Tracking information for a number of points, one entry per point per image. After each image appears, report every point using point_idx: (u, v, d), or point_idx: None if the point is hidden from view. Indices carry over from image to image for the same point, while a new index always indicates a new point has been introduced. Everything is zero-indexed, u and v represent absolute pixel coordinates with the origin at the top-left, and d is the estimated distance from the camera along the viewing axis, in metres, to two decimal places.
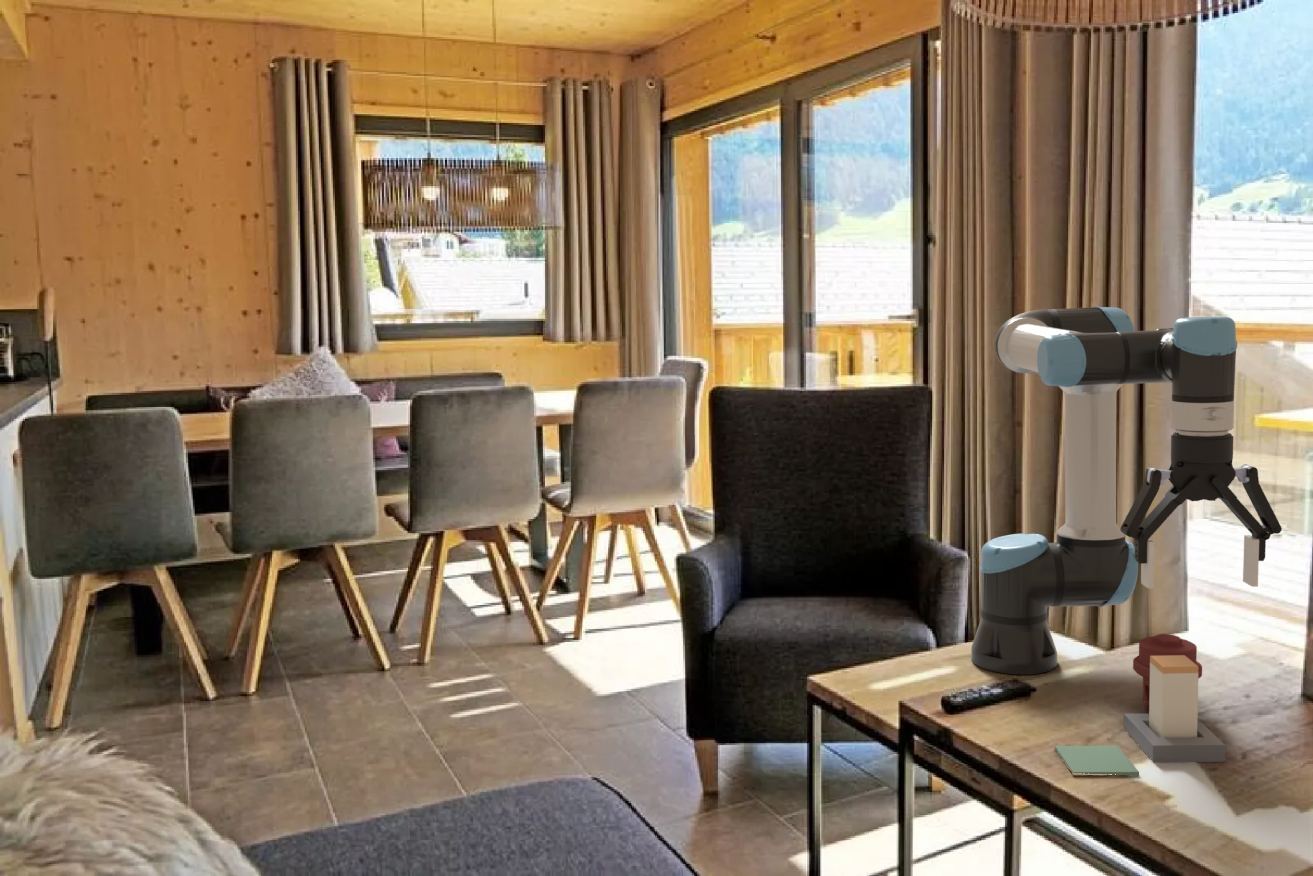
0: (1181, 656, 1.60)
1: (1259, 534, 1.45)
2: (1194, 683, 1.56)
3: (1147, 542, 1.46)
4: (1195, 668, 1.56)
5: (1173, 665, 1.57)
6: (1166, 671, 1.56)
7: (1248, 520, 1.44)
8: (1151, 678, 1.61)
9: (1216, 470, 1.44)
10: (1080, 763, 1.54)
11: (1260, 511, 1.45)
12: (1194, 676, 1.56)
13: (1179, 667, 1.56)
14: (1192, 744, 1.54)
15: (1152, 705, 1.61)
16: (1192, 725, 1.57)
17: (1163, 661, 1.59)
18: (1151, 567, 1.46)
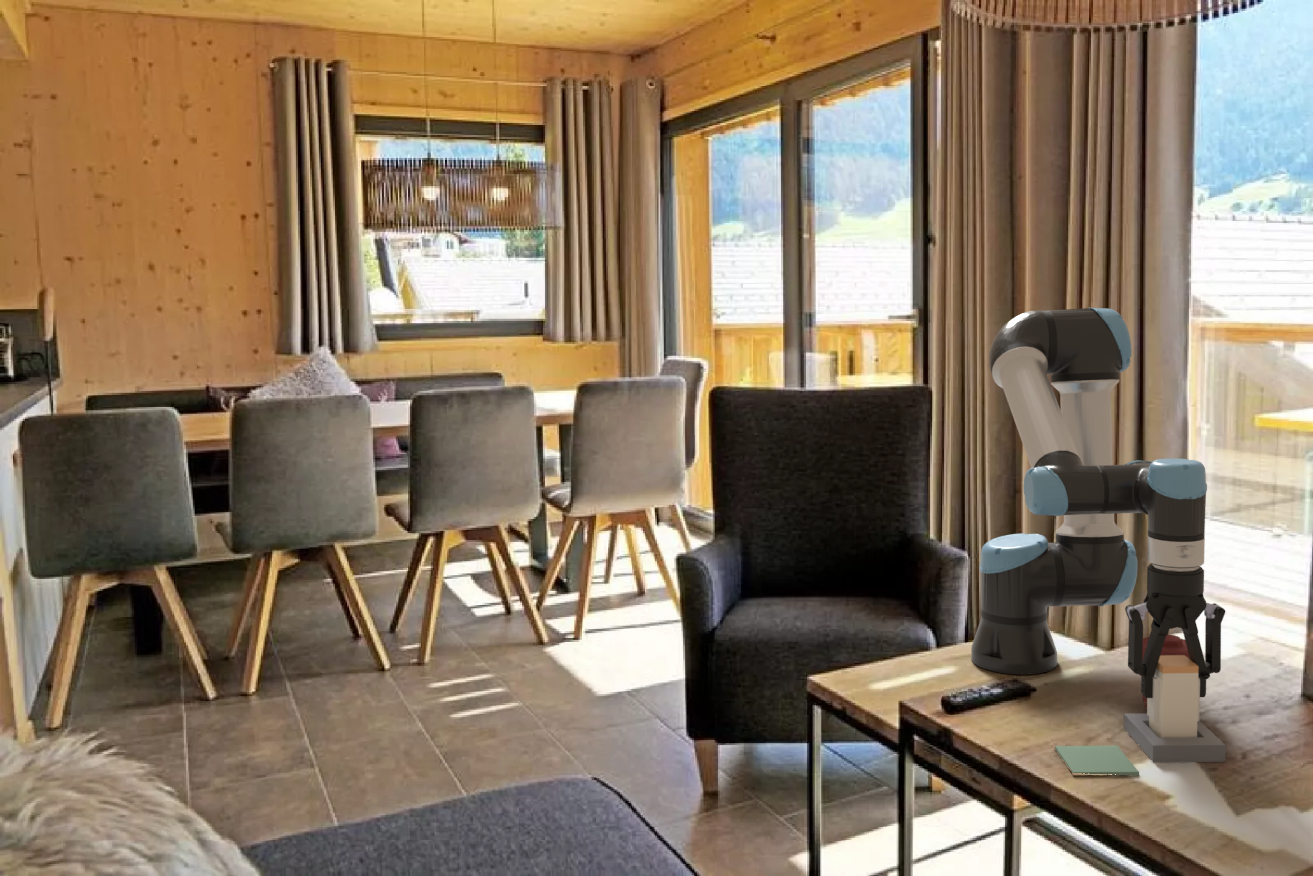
0: (1181, 656, 1.60)
1: (1200, 672, 1.57)
2: (1194, 683, 1.56)
3: (1153, 679, 1.58)
4: (1195, 668, 1.56)
5: (1173, 665, 1.57)
6: (1166, 671, 1.56)
7: (1197, 656, 1.57)
8: None
9: (1191, 597, 1.56)
10: (1080, 763, 1.54)
11: (1210, 648, 1.57)
12: (1194, 676, 1.56)
13: (1179, 667, 1.56)
14: (1192, 744, 1.54)
15: None
16: (1192, 725, 1.57)
17: (1163, 661, 1.59)
18: (1156, 702, 1.58)
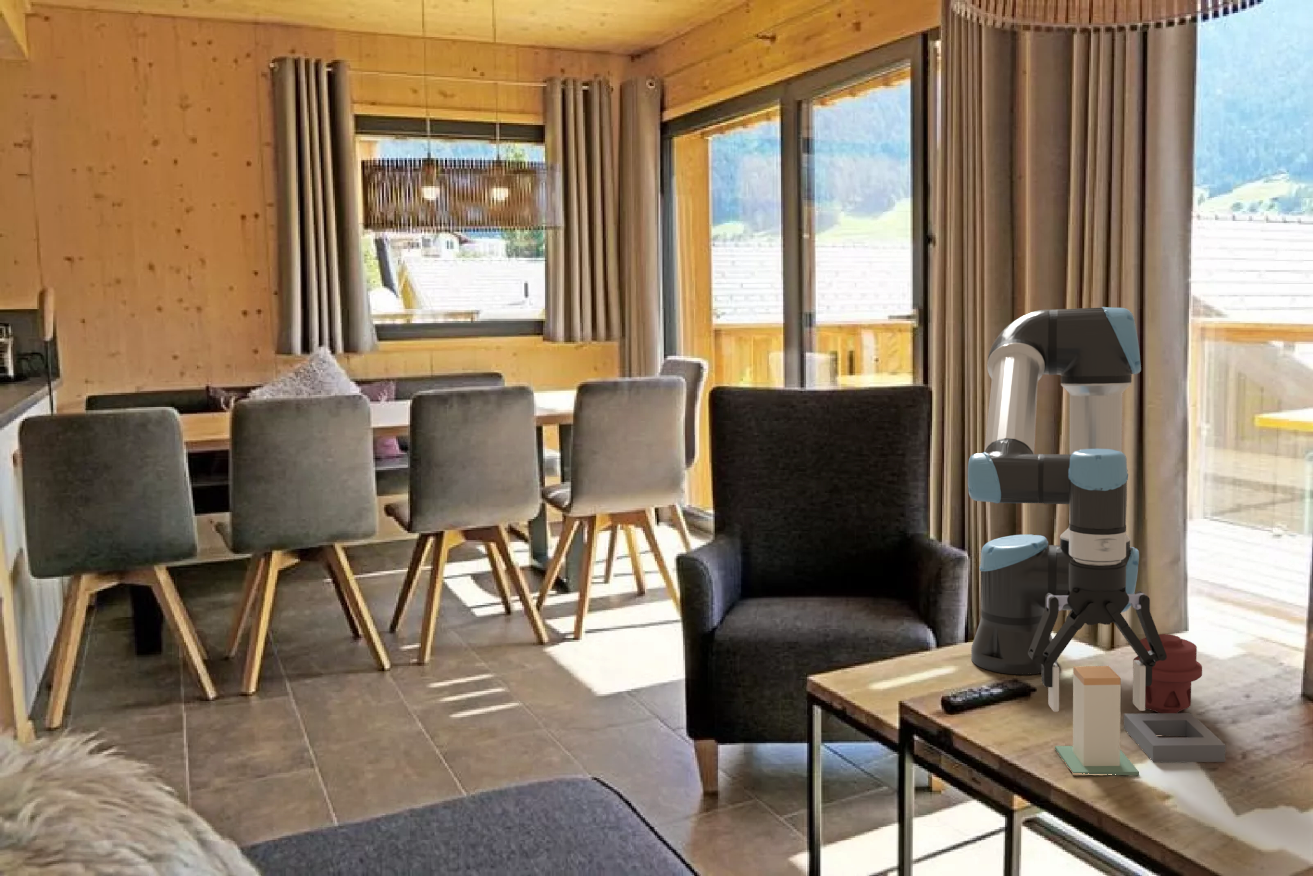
0: (1105, 667, 1.55)
1: (1145, 661, 1.52)
2: (1116, 695, 1.51)
3: (1052, 667, 1.53)
4: (1117, 679, 1.51)
5: (1095, 676, 1.52)
6: (1087, 683, 1.51)
7: (1136, 647, 1.52)
8: (1074, 689, 1.56)
9: (1111, 595, 1.51)
10: (1080, 763, 1.54)
11: (1149, 637, 1.52)
12: (1116, 688, 1.51)
13: (1101, 679, 1.51)
14: (1192, 744, 1.54)
15: (1075, 718, 1.56)
16: (1115, 738, 1.52)
17: (1086, 672, 1.54)
18: (1056, 691, 1.53)
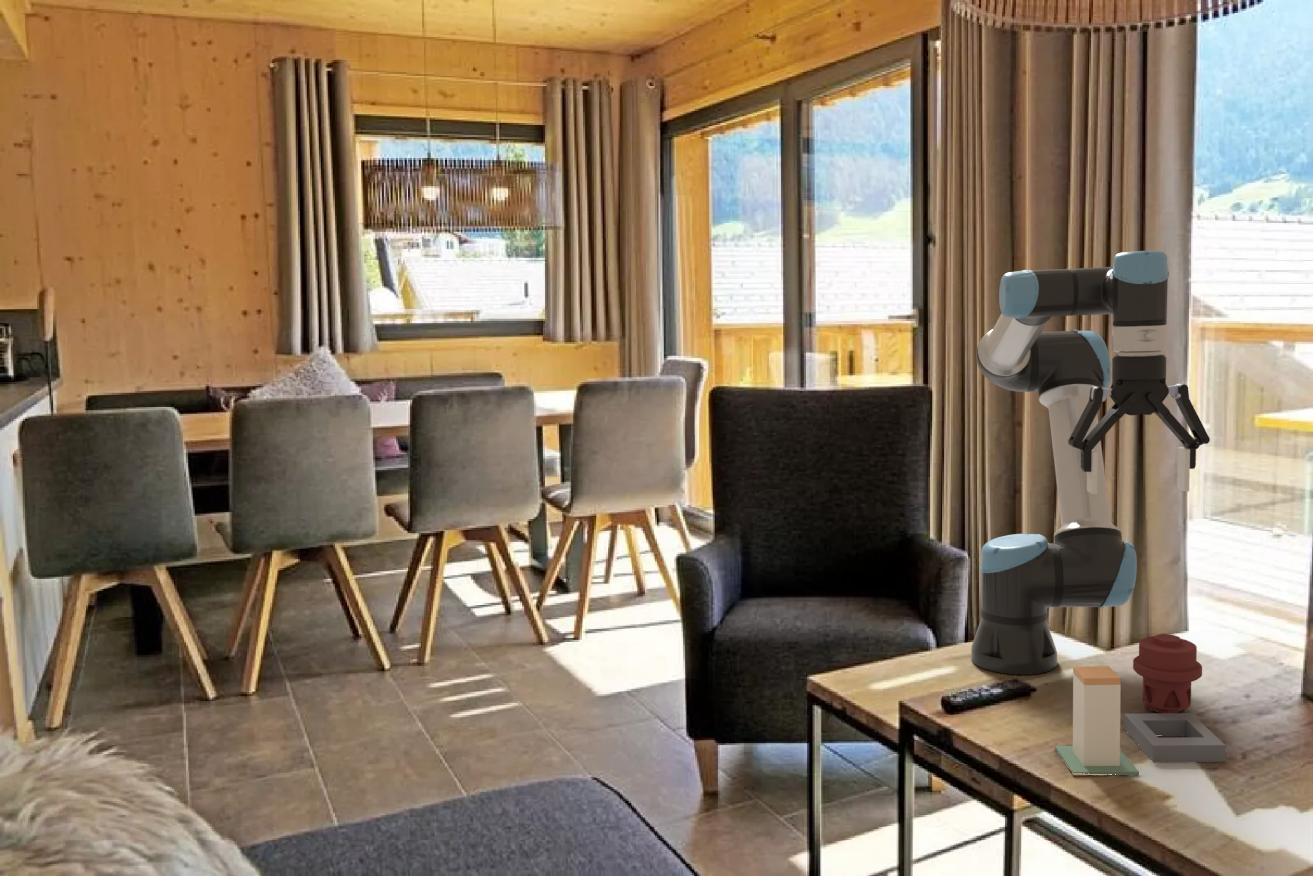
0: (1105, 667, 1.55)
1: (1190, 444, 1.63)
2: (1116, 695, 1.51)
3: (1091, 452, 1.65)
4: (1117, 679, 1.51)
5: (1095, 676, 1.52)
6: (1087, 683, 1.51)
7: (1180, 432, 1.63)
8: (1074, 689, 1.56)
9: (1151, 387, 1.62)
10: (1080, 763, 1.54)
11: (1191, 424, 1.63)
12: (1116, 688, 1.51)
13: (1101, 679, 1.51)
14: (1192, 744, 1.54)
15: (1075, 718, 1.56)
16: (1115, 738, 1.52)
17: (1086, 672, 1.54)
18: (1095, 474, 1.65)
